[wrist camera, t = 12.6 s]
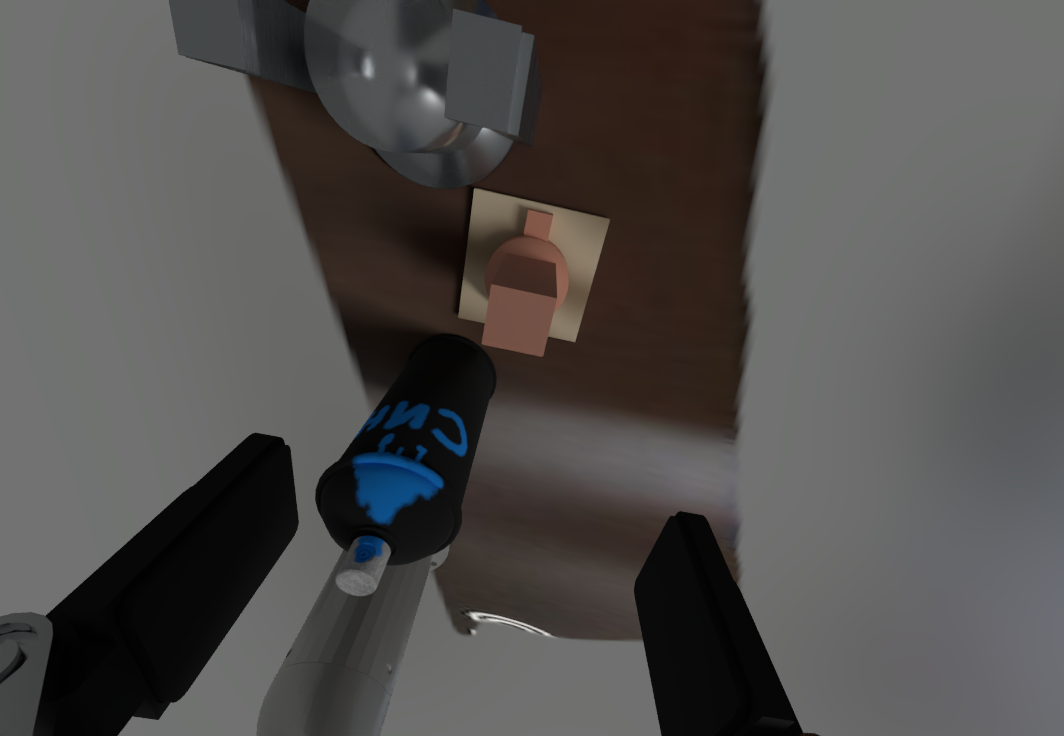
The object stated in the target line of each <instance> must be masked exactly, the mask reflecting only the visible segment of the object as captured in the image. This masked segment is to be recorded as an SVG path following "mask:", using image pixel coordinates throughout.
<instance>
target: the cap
mask: <svg viewBox="0 0 1064 736" xmlns="http://www.w3.org/2000/svg"><path fill="white" fill-rule="evenodd" d="M552 219H553V214H552V213H548V212H543V211H539V210H534V209H530V208H529V209H528V214H527V219H526V224H525V230H524V234H521V235H517V236H514V237H511V238H509V239H508V240H506V241H504V242H503V243H502V244H501V245H500V246H499V247H498V248H497V249H496V251H495V252H494V254H493V255H492V257H491V259H490V260H489V262H488V265H487V268H486V272H485V287H486V291H487V295H488V297H489V302H488V308H487V314H486V321H485V327H484V333H483V339H482V344H483V345H488V346H492V347H497V348H502V349H507V350H512V351H517V352H521V353H526V354H531V355H536V356H541V357H543V354H544V350H545V346H546V342H547V338H548V334H549V330H550V326H551V322H552V318H553V314H554V312H555V311H556V310H557V309H558V308H559V307H560V306H561V304H562V303H563V301H564V299H565V297H566V294H567V291H568V285H569V278H568V269H567V264H566V261H565V258H564V256H563V254H562V253H561V251H560V250H559V249H558V248H557V246H556V245H555V244H553V243H552V242H551V241H549V240H548V237H549V233H550V228H551V224H552Z"/></svg>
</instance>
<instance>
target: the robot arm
mask: <svg viewBox="0 0 1064 736" xmlns="http://www.w3.org/2000/svg"><path fill="white" fill-rule="evenodd" d="M292 468H293V467H292V459H291V450H290V447H289V446H288V445H285V443H284V440H283V439H282V438H280V437H276V436H271V435H265V434H260V433H253V434H251V435H249V436H248V437H247V438H246V439H245V440H244V441H243V442H241V443H240V444H239V445H238V446H237V447H236V448H235V449H234V450H233V451H232V452H231V453H229V454H228V455H227V456H226V457H225V458H224V459H223V460H222V461H220V462H219V463H218V464H217V465H216V466H215V467H214V468H213V469H211V470H210V471H209V472H208V473H207V474H206V475H205V476H204V477H203V478H202V479H200V481H198V482H197V483H196V484H195V485H194V486H192V487H190V488H189V489H188V490H186V491H185V492H183V493H182V494H181V495H180V496H179V497H178V498H176V500H174V501H173V502H172V503H171V504H170V505H169V506H168V507H167V508H165V509H164V510H163V511H162V512H161V513H160V514H159V515H157V516H156V517H155V518H154V519H153V520H152V521H151V522H150V523H149V524H148V525H146V526H145V527H144V528H143V529H142V530H141V531H140V532H139V533H137V534H136V535H135V536H134V537H133V538H132V539H131V540H130V541H128V542H127V543H126V544H125V545H124V546H123V547H122V548H121V549H120V550H118V551H117V552H116V553H115V554H114V555H113V556H112V557H111V558H110V559H108V560H107V561H106V562H105V563H104V564H103V565H102V566H101V567H99V568H98V570H96V571H95V572H94V573H93V574H92V575H91V576H90V577H88V578H87V579H86V580H85V581H84V582H83V583H82V584H81V585H79V587H77V588H76V589H75V590H74V591H73V592H72V593H70V594H69V595H68V596H67V597H66V598H65V599H64V600H63V601H62V602H60V603H59V604H58V605H57V606H56V607H55V608H54V609H53V610H51V611H50V613H48V614H47V615H46V616H44V615H40V614H36V613H32V612H28V613H13V614H9V615H5V616H1V617H0V736H118V735H119V733H120V732H121V731H122V729H123V728H124V727H125V725H126V724H127V722H128V721H129V720H130V719H131V717H132V716H134V717H141V718H149V719H155V720H158V719H159V718H160V717H161V715H162V714H163V712H164V711H165V710H166V708H167V707H168V706H169V704H170V703H171V702H173V703H174V702H177V701H178V700H179V699H181V698H182V697H183V696H184V695H185V693H186V692H187V691H188V689H189V688H190V687H191V685H192V684H193V682H194V681H195V680H196V678H197V677H198V675H199V674H200V672H201V671H202V669H203V668H204V666H205V665H206V664H207V662H208V661H209V659H210V658H211V656H212V655H213V653H214V652H215V650H216V649H217V648H218V646H219V645H220V643H221V642H222V640H223V639H224V637H225V636H226V634H227V633H228V631H229V630H230V629H231V627H232V626H233V624H234V623H235V621H236V620H237V618H238V617H239V616H240V614H241V613H242V611H243V610H244V608H245V607H246V605H247V604H248V602H249V601H250V599H251V598H252V597H253V595H254V594H255V592H256V591H257V589H258V588H259V586H260V585H261V584H262V582H263V581H264V579H265V578H266V576H267V575H268V573H269V572H270V570H271V569H272V567H273V566H274V565H275V563H276V562H277V560H278V559H279V557H280V556H281V555H282V553H283V552H284V550H285V549H286V547H287V546H288V544H289V543H290V541H291V540H292V538H293V537H294V535H295V533H296V531H297V527H298V523H299V520H298V511H297V503H296V494H295V485H294V476H293V469H292ZM449 548H450V544H449V545H448V546H447V547H446V548H445V549H443V550H441V551H440V552H438V553H436V554H433V555H430V556H428V557H425V558H423V559H420V560H418V561H415V562H412V563H409V564H404V565H394V566H389V565H386V566H385V569H384V571H383V574H382V576H381V578H380V581H379V583H378V586H377V588H376V590H375V591H374V592H373V593H371V594H369V595H366V596H355V595H351V594H348V593H346V592H344V591H342V590H341V589H340V588H339V587H338V586H337V584H336V582H335V576H336V574H337V572H338V570H339V568H340V566H341V565H342V563H343V561H344V559H345V557H346V555H347V553H348V552H347V551H345V550H343V552H342V554H341V556H340V558H339V560H338V561H337V563H336V565H335V567H334V569H333V571H332V572H331V574H330V576H329V578H328V580H327V582H326V584H325V585H324V587H323V589H322V591H321V593H320V595H319V597H318V598H317V600H316V602H315V604H314V606H313V608H312V610H311V612H310V613H309V615H308V617H307V619H306V621H305V623H304V625H303V626H302V628H301V630H300V632H299V634H298V636H297V638H296V639H295V642H294V643H293V645H292V647H291V649H290V651H289V653H288V654H287V656H286V658H285V660H284V662H283V664H282V666H281V668H280V670H279V672H278V673H277V675H276V677H275V678H274V680H273V682H272V684H271V686H270V688H269V690H268V692H267V694H266V696H265V698H264V701H263V704H262V707H261V710H260V714H259V718H258V723H257V736H380V733H381V730H382V726H383V723H384V720H385V716H386V713H387V710H388V706H389V702H390V698H391V696H392V692H393V689H394V686H395V682H396V679H397V675H398V672H399V669H400V665H401V662H402V659H403V656H404V652H405V649H406V646H407V642H408V639H409V636H410V632H411V629H412V625H413V622H414V619H415V615H416V612H417V609H418V606H419V602H420V598H421V596H422V592H423V589H424V586H425V582H426V579H427V576H428V572H430V571H432V570H434V569H436V568H437V567H439V566H440V565H441V564H442V563H443V562H444V560H445V559H446V557H447V555H448V552H449ZM634 594H635V600H636V605H637V611H638V616H639V621H640V626H641V631H642V637H643V642H644V647H645V652H646V657H647V662H648V668H649V673H650V678H651V683H652V688H653V694H654V699H655V704H656V709H657V714H658V720H659V724H660V730H661V735H662V736H820V735H817V734H815V733H803V731H802V729H801V727H800V725H799V722H798V720H797V718H796V716H795V714H794V711H793V709H792V707H791V704H790V702H789V700H788V698H787V695H786V693H785V691H784V689H783V686H782V684H781V682H780V679H779V677H778V675H777V673H776V670H775V668H774V666H773V664H772V661H771V659H770V657H769V654H768V652H767V650H766V648H765V645H764V643H763V641H762V639H761V637H760V634H759V632H758V630H757V627H756V625H755V623H754V621H753V618H752V616H751V614H750V612H749V609H748V607H747V605H746V602H745V600H744V598H743V596H742V593H741V591H740V589H739V587H738V586H737V584H736V582H735V581H734V580H733V578H732V576H731V573H730V571H729V569H728V566H727V564H726V562H725V560H724V557H723V555H722V553H721V550H720V548H719V546H718V544H717V541H716V539H715V537H714V534H713V532H712V530H711V528H710V525H709V523H708V521H707V519H706V518H705V517H704V516H703V515H698V514H693V513H687V512H682V511H679V512H678V513H677V514H676V515H675V516H670V517H669V519H668V521H667V522H666V524H665V526H664V528H663V530H662V532H661V534H660V536H659V537H658V539H657V541H656V543H655V545H654V547H653V549H652V551H651V553H650V554H649V556H648V558H647V560H646V562H645V564H644V566H643V568H642V569H641V571H640V573H639V575H638V577H637V579H636V581H635V586H634Z"/></svg>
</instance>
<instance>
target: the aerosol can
mask: <svg viewBox="0 0 1064 736" xmlns="http://www.w3.org/2000/svg"><path fill="white" fill-rule="evenodd" d="M495 387H496V372H495V368H494V365H493V363H492V361H491V359H490V358H489V356H488V355H487V353H486V352H485V351H484V350H483V349H482V348H481V347H479V346H478V345H476V344H475V343H474V342H472V341H470V340H467V339H465V338H462V337H458V336H453V335H440V336H435V337H432V338H429V339H427V340H425V341H423V342H421V343H420V344H419V345H418V346H417V347H415V349H414V350H413V351H412V353H411V354H410V357H409V359H408V363H407V365H406V367H405V368H404V369H403V371H402V372H401V374H400V375H399V377H398V378H397V379H396V381H395V382H394V384H393V385H392V386H391V388H390V389H389V391H388V392H387V393H386V395H385V396H384V398H383V399H382V400H381V402H380V403H379V405H378V406H377V407H376V409H375V410H374V412H373V413H372V414H371V416H370V417H369V419H368V420H367V422H366V423H365V424H364V426H363V427H362V429H361V430H360V431H359V433H358V434H357V436H356V437H355V439H354V440H353V441H352V443H351V444H350V445H349V447H348V448H347V450H346V451H345V453H344V454H343V455H342V457H341V458H340V459H339V461H337V462H335V463H334V464H333V465H332V466H331V467H329V468H328V469H326V470H325V472H324V473H323V475H322V476H321V477H320V479H319V482H318V485H317V488H316V496H315V501H316V504H317V508H318V511H319V513H320V515H321V517H322V519H323V521H324V523H325V525H326V528H327V529H328V531H329V533H330V535H331V537H332V538H333V539H334V540H335V542H336V543H337V544H338V545H339V546H340V547H341V548H343V549H344V550H345V551H347V552H348V553H347V555H346V557H345V559H344V561H343V563H342V565H341V566H340V568H339V570H338V572H337V574H336V576H335V582H336V584H337V586H338V587H339V588H340V589H341V590H342V591H344V592H346V593H348V594H351V595H355V596H366V595H369V594H371V593H373V592H374V591H375V590H376V588H377V586H378V583H379V581H380V578H381V576H382V574H383V571H384V569H385V566H386V565H389V566H394V565H404V564H409V563H412V562H415V561H418V560H420V559H423V558H425V557H428V556H430V555H433V554H436V553H438V552H440V551H441V550H443V549H445V548H446V547H447V546H448V545H449V544H451V543H452V542H453V540H454V539H455V537H456V536H457V534H458V533H459V530H460V527H461V523H462V510H461V505H462V501H463V497H464V494H465V490H466V486H467V482H468V478H469V475H470V471H471V467H472V463H473V459H474V456H475V452H476V448H477V444H478V440H479V437H480V433H481V429H482V425H483V421H484V418H485V414H486V410H487V406H488V402H489V400H490V398H491V397H492V395H493V393H494V391H495Z"/></svg>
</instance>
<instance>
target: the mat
mask: <svg viewBox="0 0 1064 736" xmlns="http://www.w3.org/2000/svg"><path fill="white" fill-rule="evenodd" d="M529 208H530V209H534V210H539V211H543V212H548V213H552V214H553V219H552V224H551V228H550V233H549V237H548V240H549V241H551V242H552V243H553V244H555V245H556V246H557V248H558V249H559V250H560V251H561V253H562V254H563V256H564V258H565V261H566V264H567V269H568V278H569V285H568V291H567V294H566V297H565V299H564V301H563V303H562V304H561V306H560V307H559V308H558V309H557V310H556V311H555V312H554V314H553V318H552V322H551V326H550V330H549V334H548V336H549V337H553V338H558V339H563V340H568V341H573V342H575V341H576V337H577V334H578V330H579V327H580V323H581V320H582V316H583V312H584V309H585V305H586V302H587V298H588V295H589V291H590V288H591V284H592V281H593V277H594V274H595V270H596V267H597V263H598V260H599V256H600V253H601V249H602V246H603V242H604V239H605V235H606V232H607V228H608V225H609V221H610V219H609V218H606V217H602V216H597V215H593V214H588V213H584V212H580V211H575V210H571V209H567V208H562V207H558V206H553V205H549V204H545V203H540V202H536V201H531V200H527V199H523V198H518V197H514V196H510V195H505V194H501V193H496V192H492V191H488V190H483V189H479V188H474V194H473V202H472V210H471V218H470V226H469V234H468V242H467V251H466V259H465V267H464V275H463V283H462V291H461V299H460V308H459V316H458V318H463V319H467V320H472V321H477V322H482V323H485V321H486V314H487V308H488V302H489V297H488V295H487V291H486V287H485V272H486V268H487V265H488V262H489V260H490V259H491V257H492V255H493V254H494V252H495V251H496V249H497V248H498V247H499V246H500V245H501V244H502V243H503V242H504V241H506V240H508V239H509V238H511V237H514V236H517V235H521V234H524V230H525V224H526V219H527V214H528V209H529Z"/></svg>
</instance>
